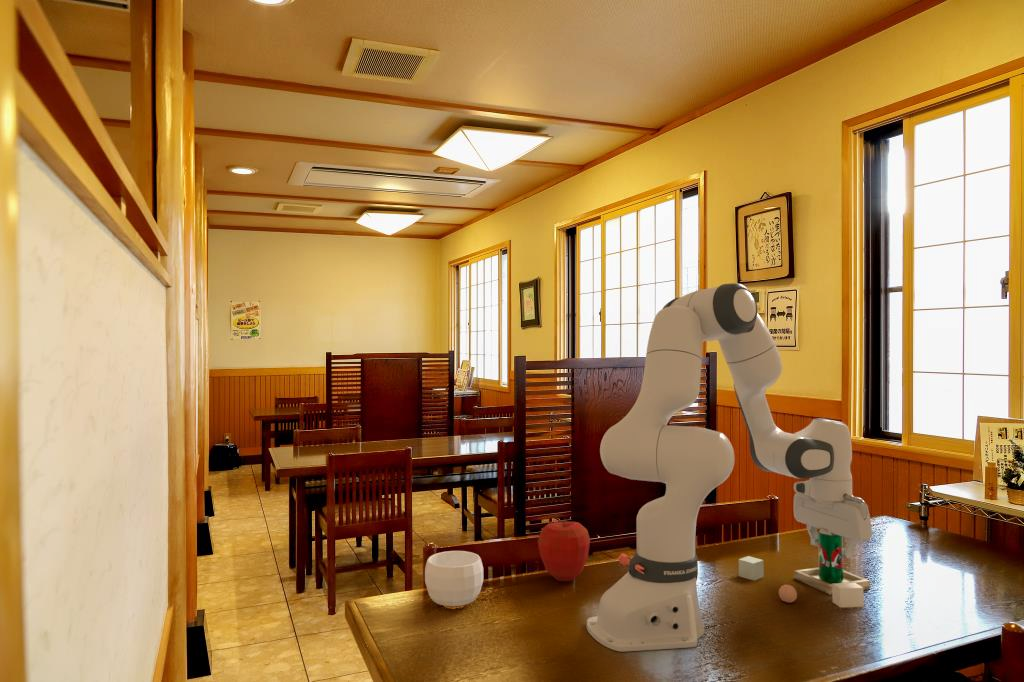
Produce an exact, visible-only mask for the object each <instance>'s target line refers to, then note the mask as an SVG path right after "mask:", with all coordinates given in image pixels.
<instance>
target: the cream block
mask: <svg viewBox="0 0 1024 682" xmlns="http://www.w3.org/2000/svg"><path fill="white" fill-rule="evenodd" d="M832 603H833V604H835V605H836V606H837V607H839V608H864V590H863V587H861V586H860V585H858V584H856V583H832Z"/></svg>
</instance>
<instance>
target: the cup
mask: <svg viewBox="0 0 1024 682" xmlns="http://www.w3.org/2000/svg"><path fill="white" fill-rule="evenodd" d="M483 565H484V564H483V562H482V558H481V557H480V556H479V554H477V553H474V552H471V551H466V550H450V551H449V550H448V551H442V552H438V553H434V554H432V555H430V556H429V557H428V558H427V560H426V563H425V568H424V582H425V586H426V589H427V594H428V596H429V598H431V600H432V602H434V603H435V604H437V605H440V606H441V605H443V606H447V607H460V606H464V605H466V604H468V605H469V604H471V603H473V602H474V601H475V600H476V599H477V598H478V596H479V594H480V593H481V591H482V586H483V583H484V566H483Z"/></svg>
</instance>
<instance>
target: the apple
mask: <svg viewBox="0 0 1024 682" xmlns="http://www.w3.org/2000/svg"><path fill="white" fill-rule="evenodd" d="M590 543H591V538H590V535H589V531H588V529H587V528H586V527H585V526H583V524H581V523H580V522H578V521H577V522H576V521H566V518H564V519H563V521H554V522H550V523H548V524H546V525H545V526H544V527H543V528H541V530H540V533H539V537H538V539H537V546H538V551H539V556H540V559H541V561H542V563H543V566H544V568H545V570H546V572H547V573H548V574H549V575H551V576H552V577H553V578H554V579H555V580H557V581H559V582H572V581H574V580H575V579H576V578H577V577H578V576H579V575H580V574H582V573H583V570H584V568H585V565H586V564H587V563H586V562H587V559H588V557H589V552H590V545H591V544H590Z"/></svg>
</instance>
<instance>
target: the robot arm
mask: <svg viewBox="0 0 1024 682" xmlns="http://www.w3.org/2000/svg"><path fill="white" fill-rule="evenodd" d="M654 316H655V317H654V319H653V321H652V325H651V328H650V332H649V336H648V340H647V341H648V342H647V347H646V353H645V363H644V371H643V376H642V382H641V386H640V387H641V388H640V390H639V393H638V396H637V398H636V401H635V403H634V404H633V406H632V407H631V409H630V410H629V412H628V413H626V415H625V416H624V417H623V418H622V419H621V420H620V421H619V422H617V423H616V424H614V425H612V426H611V427H609V428H608V429H607V430H606V431H605V433H604V434H603V437H602V439H601V442H600V448H599V454H600V459H601V462H602V465H603V466H604V468H605V469H606V470H607V472H608V473H609V474H612V475H616V476H618V477H621V478H626V479H629V480H632V481H633V480H634V481H636V480H637V481H644V482H645V481H646V482H654V483H656V482H657V483H658V482H659V483H662V484H665V493H664V495H663V496H661V497H658V498H655V499H653V500H651V501H648V502H647V503H645V504H644V505H642V507H641V508H640V509H639V510H638V513H637V515H636V551H634V554H633V556H632V557H631V556H629V555H627V554H626V553H621V554H620V555H619V556H618V562H619V563H620V565H623V566H624V567H628V569H627V570H628V571H627V573H625V574H624V575H623V576H622V577H621V578H620V579H618V580H617V582H615V583H614V584H613V585H611V587H609V588H608V589H607V590H606V591H604V593H603V594H602V595H601V597H600V600H599V605H598V609H597V610H598V611H597V615H595V616H591V617H588V618H587V620H586V630H587V632H588V633H589V635H590V636H592V638H593V639H594V640H595V641H597V642H598V643H599V644H601V645H602V646H604V647H605V648H608V649H610V650H612V651H616V652H637V651H639V652H640V651H650V650H651V651H652V650H653V651H654V650H656V651H657V650H668V649H683V648H685V649H686V648H687V649H688V648H694V647H697V646H698V643H699V639H700V638H701V637H703V635H704V634H705V630H706V629H705V626H704V623H703V619H702V614H701V610H700V605H699V596H698V589H697V588H698V587H697V580H698V575H699V572H698V571H699V568H698V566H699V565H698V555H697V554H696V532H697V531H696V530H697V528H696V527H697V519H698V515H699V511H700V508H701V506H702V504H703V502H704V500H705V499H706V498H707V496H708V495H710V493H711V492H712V491H714V490H715V488H717V487H718V486H720V485H722V484H723V483H724V482H725V481H726V480H727V479H728V478H729V477H730V475H731V474H732V471H733V470H734V466H735V459H736V458H735V451H734V447H733V445H732V443H731V441H730V439H729V438H728V437H727V435H725V433H724V432H721V431H717V430H712V429H710V428H709V429H708V428H705V427H702V426H686V425H685V426H683V425H682V426H681V425H668V423H669V421H670V419H672V417H673V416H674V415H675V414H677V413H678V412H681V411H682V410H685V409H687V408H690V406H692V405H693V404H694V403H695V402H696V400H697V399H698V397H699V395H700V389H701V377H702V376H701V374H702V363H703V343H704V342H712V341H718V343H719V346H720V350H721V352H722V355H723V358H724V360H725V363H726V364H727V366H728V370H729V372H730V374H731V376H732V380H733V389H734V393H735V396H736V401H737V404H738V406H739V409H740V413H741V415H742V418H743V421H744V423H745V426H746V429H747V433H748V439H749V453H750V456H751V459H752V461H753V463H754V464H755V466H756V467H757V468H759V469H760V470H762V471H764V472H769V473H775V474H779V475H783V476H787V477H789V478H790V477H791V478H794V479H802V481H796V482H794V484H793V491H794V492H795V494H794V496H793V517H794V519H795V520H796V522H799V523H800V524H801V523H802V524H804V525H806V531H807V533H808V535H809V537H810V545H812V546H815V547H818V531H817V530H818V529H819V530H820V528H822V529H825V530H829V532H830V533H833V534H836V535H839V536H842V537H843V538H844V543H845V544H846V545H845V547H843V548H842V556H843V558H846V559H852V558H853V557H854V550H855V548H856V546H857V544H858V543H862V542H869V541H870V540H871V539H872V537H873V530H872V521H871V515H870V511H869V505H868V504H867V503H866V502H865V501H864V499H863V498H861V497H858V496H854V495H853V475H852V471H851V464H852V462H853V461H852V460H853V447H852V437H851V432H850V429H849V426H848V425H847V424H846V423H844V422H842V421H837V420H832V419H827V418H820V417H819V418H817V417H816V418H813V419H812V420H811V422H810V424H808V425H807V426H806V427H804V428H803V429H801V430H799V431H797V432H794V433H790V432H786V431H784V430H782V429H780V428H779V427H778V426H777V425H776V424H775V421H774V419H773V415H772V412H771V410H770V406H769V403H768V401H767V400H768V399H767V396H766V392H767V390H768V389H769V388H770V387H772V386H773V385H775V384H776V382H778V380H779V378H780V377H781V375H782V372H783V369H784V367H783V361H782V357H781V354H780V352H779V349H778V348H777V347H778V346H777V344H776V343H775V341H774V338H773V336H772V334H771V333H770V329H769V328H768V326H767V325H766V323H765V321H764V320H763V319H762V317H761V315H760V314H759V313H758V304H757V300H756V298H755V295H754V294H753V292H751V291H750V290H749V289H748V288H747V287H746V286H745V285H743V284H741V283H736V282H735V283H730V282H729V283H724V284H720V285H719V286H712V287H708V288H704V289H698V290H695V291H692V292H689V293H687V294H685V295H683V296H681V297H675V298H674V299H672V300H670V301H668V302H667V303H666V304H665V305H664V306H663V307H662V309H661V310H659V311H658V312H657V313H656V315H654ZM803 480H805V481H803Z"/></svg>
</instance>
